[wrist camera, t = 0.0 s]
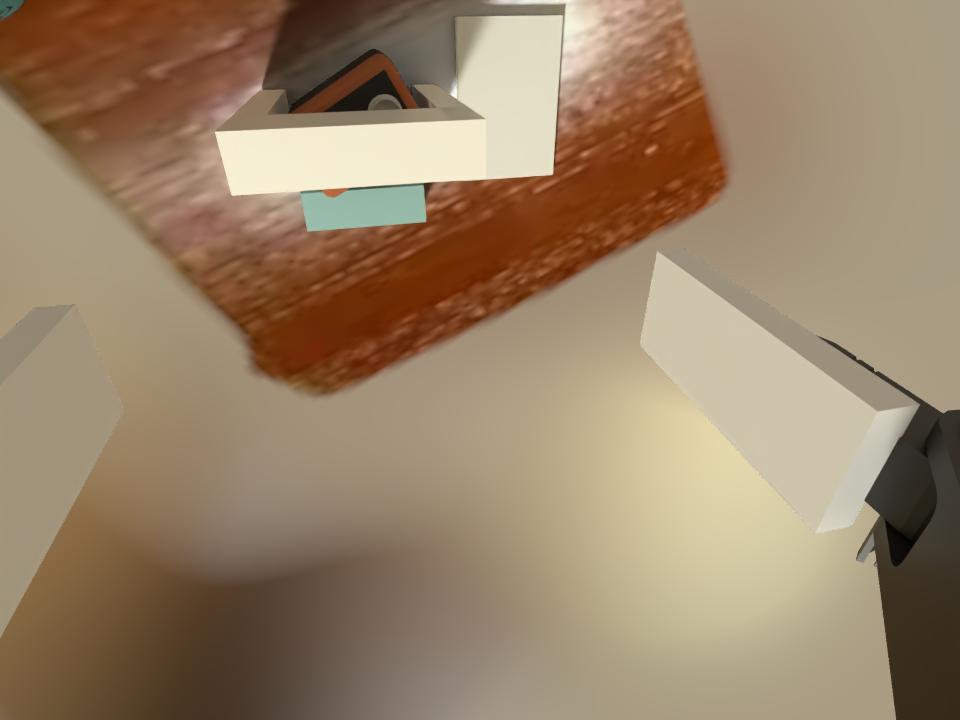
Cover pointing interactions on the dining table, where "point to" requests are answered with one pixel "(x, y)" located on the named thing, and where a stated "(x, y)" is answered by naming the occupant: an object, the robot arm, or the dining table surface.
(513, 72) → the mat
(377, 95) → the battery
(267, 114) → the white u-shaped bracket
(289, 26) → the dining table surface
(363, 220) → the block
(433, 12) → the dining table surface
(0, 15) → the beverage bottle
